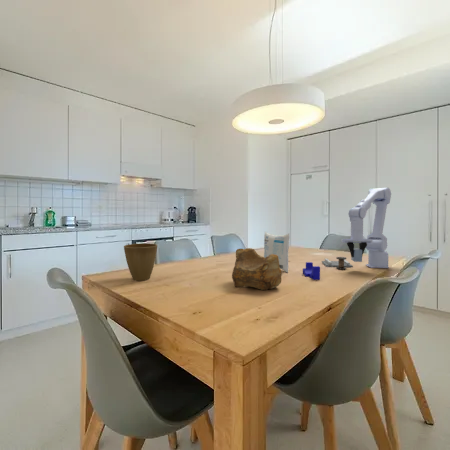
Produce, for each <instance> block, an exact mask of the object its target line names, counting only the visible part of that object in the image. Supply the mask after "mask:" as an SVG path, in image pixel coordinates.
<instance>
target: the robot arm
mask: <svg viewBox="0 0 450 450" xmlns="http://www.w3.org/2000/svg"><path fill="white" fill-rule="evenodd" d="M391 191H392V190H391V189H390V187H387V186H386V187H378V188H373V187H372V188H371V187H370V188H369V190H368V192H367V196H366V197H365V198H363V199H360V201H359V202H358V203H357V204H356V205H355V206H354V207H350V209H349V210H348V217H349V222H350V238H341V241H340V242H341V243H342V244H347V245H346V246H347V247H348V249H349V252H350V258H351V257H354V248H355V244H358V245H359V246H358V248H359V249H361V250H362V256H363V255H364V252H365V249H366V250H367V251H368V258H367V259H368V262H367V263H368V264H367V263H366V264H365V266H367V267H369V268H371V269H373V268H375V269H376V268H378V269H389V268H390V267H389V253H388V251H386V250H387V248H388V238H387V237H386V236H385V235H384V234H383V231H384V226H385V220H386V213H387V207H388V204H390V202H391V198H392V192H391ZM372 204H373V205H374V206H376V209H375V214H374V220H373V226H372V232H371V233H369V234H368V235H367V236H366V238H364V219H365V218H366V216H367V213H368V211H369V209H370V208H371V207H372Z"/></svg>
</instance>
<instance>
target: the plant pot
mask: <svg viewBox="0 0 450 450" xmlns="http://www.w3.org/2000/svg"><path fill="white" fill-rule="evenodd" d="M123 250H124V255H125V260H126V263H127V264H126V265H127V267H128V271H129V273H130V276H131V278H132V280H133V281H135V282H143V281H148V280H150V279H151V276H152V273H153V270H154V267H155V266H154V265H155V262H156V256H157V250H158V244H156V243H149V242H148V243H130V244H125V245H123Z"/></svg>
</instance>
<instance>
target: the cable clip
mask: <svg viewBox="0 0 450 450" xmlns="http://www.w3.org/2000/svg"><path fill="white" fill-rule="evenodd" d="M302 275H303V276H305V277H306V278H311V279H312V280H313V281H317V280H319V281H320V280H321V267H320V266H319V265H316V266H315V265H314V262H312V261H311V262H310V261H309V262H308V261H307V262H305V267H304V268H302Z"/></svg>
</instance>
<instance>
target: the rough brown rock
mask: <svg viewBox="0 0 450 450" xmlns="http://www.w3.org/2000/svg"><path fill="white" fill-rule="evenodd" d="M231 278H232V281H233V284H234V286H235V288H243V287H251V288H254V289H258V290H261V291H267V290H271V289H274V288H277V287H279V286H280V285H281V283H282V269H280V267H279V258H278V256H277V255H275V254H271V255H269V256H267V257H266V258H264V256H262V255H260V254H258V252H257V251H256V250H255V248H251V247H250V248H249V247H248V248H237V249H236V250H235V262H234V267H233V268H232V273H231Z"/></svg>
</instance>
